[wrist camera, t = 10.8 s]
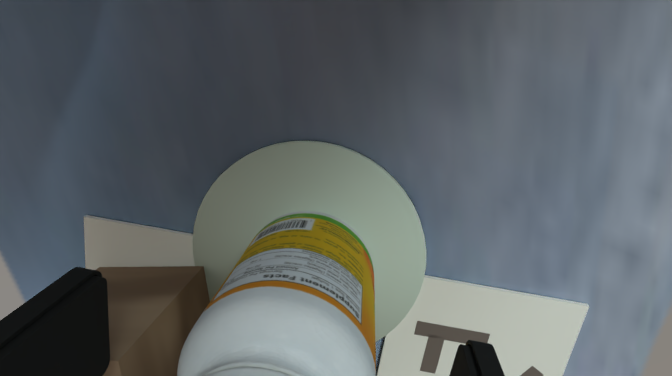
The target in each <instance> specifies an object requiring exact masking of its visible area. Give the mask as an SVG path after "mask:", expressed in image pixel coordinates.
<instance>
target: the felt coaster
mask: <svg viewBox="0 0 672 376" xmlns="http://www.w3.org/2000/svg"><path fill="white" fill-rule="evenodd" d="M297 211H317V212H322V213H326V214H329V215H332V216H335V217H337V218H339V219H341V220H342V221H344V222H345V223H347V224H348V225H349V226H351V227H352V228H353V229H354V230H355V231H356V232H357V233H358V234H359V235H360V237H361V238H362V239H363V241H364V242H365V244H366V246H367V247H368V250H369V252H370V255H371V258H372V262H373V269H374V290H375V342H377V341H378V340H380V339H381V338H383V337H384V336H386V335H387V334H388V333H390V332H391V331H392V330H393V329H394V328H395V327H397V325H398V324H399V323H400V322H401V321H402V320H403V319H404V318H405V317H406V315H407V314H408V312H409V311H410V309H411V308H412V306H413V305H414V303H415V301H416V299H417V297H418V295H419V293H420V290H421V286H422V283H423V280H424V275H425V269H426V244H425V236H424V233H423V229H422V226H421V222H420V219H419V216H418V214H417V212H416V209H415V207H414V205H413V203H412V202H411V200H410V198H409V197H408V195H407V193H406V192H405V190H404V189H403V188H402V187H401V186H400V184H399V183H398V182H397V181H396V180H395V179H394V178H393V177H392V176H391V175H390V174H389V173H388V172H387V171H386V170H385V169H384V168H382V167H381V166H379V165H378V164H377V163H375V162H374V161H372V160H371V159H369V158H367V157H366V156H364V155H362V154H360V153H358V152H356V151H354V150H351V149H348V148H346V147H343V146H340V145H336V144H331V143H327V142H320V141H310V140H302V141H288V142H282V143H276V144H273V145H270V146H266V147H263V148H261V149H258V150H256V151H254V152H252V153H250V154H248V155H246V156H245V157H243V158H242V159H240V160H238V161H237V162H235V163H234V164H233V165H231V166H230V167H229V168H228V169H227V170H226V171H224V172H223V173H222V174H221V175H220V176H219V177H218V179H217V180H216V181H215V182H214V183H213V184H212V186H211V187H210V189H209V190H208V192H207V194H206V195H205V197H204V198H203V201H202V203H201V205H200V208H199V210H198V213H197V217H196V220H195V224H194V231H193V256H194V262H195V266H204V271H205V277H206V282H207V288H208V293H209V299H210V301H211V300H212V298H213V297H214V296H215V294H216V293H217V291H218V290H219V288H220V287H221V285H222V284H223V283H224V281H225V280H226V278H227V277H228V275H229V274H230V272H231V271H232V269H233V268H234V266H235V265H236V264H237V262H238V261H239V259H240V258H241V256H242V255H243V253H244V252H245V250H246V249H247V247H248V246H249V244H250V243H251V242H252V240H253V239H254V237H255V236H256V235H257V234H258V232H259V231H260V230H261V229H262V228H263V227H264V226H265V225H267V224H268V223H269V222H271V221H272V220H274V219H276V218H277V217H280V216H282V215H284V214H288V213H291V212H297Z"/></svg>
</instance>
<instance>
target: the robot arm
mask: <svg viewBox="0 0 672 376" xmlns="http://www.w3.org/2000/svg"><path fill="white" fill-rule="evenodd" d="M109 362H110V342H109V317H108V292H107V280H106V279H105V278H103V277H102V274H101V272H99V271H97V270H91V269H86V268H80V267H75V268H73V269H72V270H70V271H69V272H67V273H66V274H65V275H63V276H62V277H61V278H59V279H58V280H56V281H55V282H54V283H52V284H51V285H49V286H48V287H47V288H45V289H44V290H42V291H41V292H40V293H38V294H37V295H35V296H34V297H33V298H31V299H30V300H28V301H27V302H26V303H24V304H23V305H21V306H20V307H19V308H17V309H16V310H14V311H13V312H12V313H10V314H9V315H8V316H6V317H5V318H3V319H2V320H1V321H0V376H103V375H104V373H105V372H106V370H107V368H108V366H109ZM449 376H505V375H504V372H503V370H502V367H501V365H500V362H499V360H498V357H497V354H496V352H495V349H494V347H493V345H492V344H489V343H484V342H478V341H473V340H468V341H467V342H466V345H462V344H460V345H459V346H458V349H457V352H456V355H455V359H454V362H453V365H452V369H451V372H450V375H449Z"/></svg>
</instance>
